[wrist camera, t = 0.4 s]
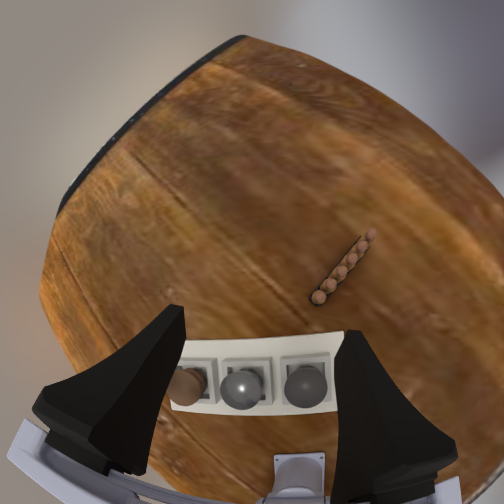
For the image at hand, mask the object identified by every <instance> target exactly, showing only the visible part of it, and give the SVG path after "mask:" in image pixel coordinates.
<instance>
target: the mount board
mask: <svg viewBox="0 0 504 504" xmlns="http://www.w3.org/2000/svg"><path fill="white" fill-rule="evenodd" d="M343 339H344V332H343V330H340V331H332V332H323V333H314V334H304V335H292V336H280V337H265V338H246V339H213V340H186V341H185V344H184V348H183V351H182V354H181V358H180V360H179V362H178V365H177V367H176V369H175V371H176V370H184V369H187V368H194V369H197V370H199V371H200V372H201V373H202V374H203V375H204V377H205V379H206V382H207V387H206V390H205V391H204V393H203V394H201V396H200V398H199V400H198V401H197V402H196V403H194V404H193V405H191V406H180V405H178V404H176V403H174V402H173V401H172V400H171V399H170V400H171V407H172V410H179V411H187V412H197V413H208V414H223V415H295V414H310V413H322V412H331V411H337V401H336V393H335V384H334V357H335V355H336V353H337V351H338V349H339V347H340V345H341V343H342V341H343ZM307 365H308V366H313V367H315V368H317V369H318V370H319V371H320V372H321V373H322V374H323V376H324V377H325V379H326V381H327V386H328V390H327V394H326V396H325V398H324V400H323V401H322V402H321V403H320V404H318V405H316V406H314V407H312V408H298V407H295V406H293V405H292V404H291V403H289V401H288V400H287V399H286V397H285V394H284V386H285V383H286V380H287V378H288V377H289V376H290V375H291V374H292V373H293V371H294V370H296V369H297V368H299V367H301V366H307ZM241 369H251V370H254V371H255V372H257V373H258V374H259V375H260V377H261V379H262V382H263V387H262V395H261V398H260V400H259V402H258V403H257V404H256V405H255V406H254V407H252V408H250V409H247V410H237V409H234V408H232V407H230V406H228V405H227V404H226V403H225V402H224V400H223V399H222V397H221V394H220V385H221V382H222V381H223V379H224V378H225V377H226V376H227V375H229V374H230V373H232V372H236V371H238V370H241Z"/></svg>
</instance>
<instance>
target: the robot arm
mask: <svg viewBox="0 0 504 504" xmlns="http://www.w3.org/2000/svg"><path fill="white" fill-rule="evenodd" d="M185 341H186V329H185V318H184V307H183V306H178V305H173V304H170V305H168V306H167V307H166V308H165V309H164V310H163V311H162V312H161V313H160V314H159V315H158V316H157V317H156V318H155V319H154V320H153V321H152V322H151V323H150V324H149V325H147V326H146V327H145V328H144V329H143V330H142V331H141V332H140V333H139V334H137V335H136V336H135V337H134V338H133V339H131V340H130V341H129V342H128V343H127V344H125V345H124V346H123V347H122V348H120V349H119V350H117V351H116V352H115V353H113V354H112V355H110V356H109V357H107V358H106V359H104V360H103V361H101V362H99V363H98V364H96V365H94V366H93V367H91V368H89V369H87V370H85V371H83V372H81V373H79V374H77V375H75V376H73V377H70V378H68V379H66V380H63V381H60V382H57V383H54V384H51V385H48V386H45V387H44V388H43V390H42V391H41V393H40V394H39V396H38V398H37V400H36V401H35V403H34V405H33V407H32V411H33V413H34V414H35V415H36V416H37V417H38V418H39V419H40V420H41V421H42V422H43V423H44V424H45V425H47V426H48V427H49V428H50V431H49V433H47V432H46V431H44V430H43V429H42V428H40V427H38V426H37V425H36V424H34V423H33V422H31V421H30V420H29V419H27V418H25V419H24V421H23V423H22V425H21V427H20V429H19V431H18V433H17V435H16V437H15V439H14V441H13V443H12V445H11V447H10V449H9V451H8V453H7V458H8V459H9V460H10V461H12V462H13V463H14V464H15V465H16V466H17V467H18V468H20V469H21V470H22V471H23V472H25V473H26V474H27V475H28V476H29V477H31V478H32V479H33V480H34V481H36V482H37V483H38V484H39V485H41V486H42V487H43V488H44V489H46V490H47V491H49V492H50V493H51V494H52V495H54V496H55V497H57V498H58V499H59V500H61V501H62V502H64V503H65V504H151V503H148V502H145V501H142V500H140V498H139V496H138V495H137V494H139V495H142V496H145V497H148V498H151V499H154V500H157V501H160V502H163V503H167V504H235V503H228V502H222V501H216V500H211V499H205V498H201V497H196V496H192V495H187V494H183V493H180V492H176V491H172V490H168V489H165V488H162V487H158V486H155V485H152V484H149V483H146V482H144V481H141V480H138V479H135V478H133V477H130V476H127V475H125V474H124V472H125V473H127V474H130V475H131V474H134V475H137V476H141V475H143V474H145V473H146V468H147V462H148V456H149V451H150V446H151V442H152V437H153V433H154V429H155V425H156V421H157V417H158V414H159V410H160V407H161V403H162V401H163V398H164V395H165V393H166V390H167V388H168V386H169V383H170V381H171V379H172V376H173V374H174V372H175V369H176V367H177V365H178V362H179V360H180V358H181V354H182V351H183V348H184V344H185ZM334 384H335V393H336V401H337V411H338V423H339V434H338V452H337V463H336V471H335V478H334V483H333V488H332V493H331V498H330V497H329V496H327V497H325V501H324V492H323V490H324V468H325V453H324V452H317V453H302V454H276V455H274V468H275V482H274V485H273V489H272V493H268V496H267V499H266V498H260V499H259V500H258V501H256V503H255V504H462V501H461V491H460V484H459V477H458V476H455V477H453V478H450V479H447V480H444V481H442V482H439V483H436V484H434V479H437V477H438V476H437V471H439V470H441V469H443V468H445V467H446V466H448V465H450V464H451V463H453V462H454V461H456V460H457V458H458V453H457V448H456V444H455V440H453V439H452V438H450V437H449V436H448V435H446V434H445V433H443V432H442V431H440V430H439V429H438V428H437V427H435V426H434V425H433V424H432V423H431V422H429V421H428V420H427V419H426V418H425V417H424V416H423V415H422V414H421V413H420V412H419V411H418V410H417V409H416V408H415V407H414V406H413V405H412V404H411V403H410V402H409V401H408V399H407V398H406V397H405V396H404V395H403V394H402V392H401V391H400V390H399V389H398V387H397V386H396V385H395V383H394V382H393V381H392V379H391V378H390V376H389V375H388V374H387V372H386V371H385V369H384V368H383V366H382V364H381V363H380V361H379V360H378V358H377V357H376V355H375V353H374V352H373V350H372V349H371V347H370V345H369V344H368V342H367V340H366V339H365V337H364V336H363V334H362V332H361V331H358V330H348V331H347V333H346V335H345V337H344V339H343V341H342V343H341V345H340V347H339V349H338V351H337V353H336V355H335V357H334ZM320 457H323V458H320ZM276 459H279V460H276Z"/></svg>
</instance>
